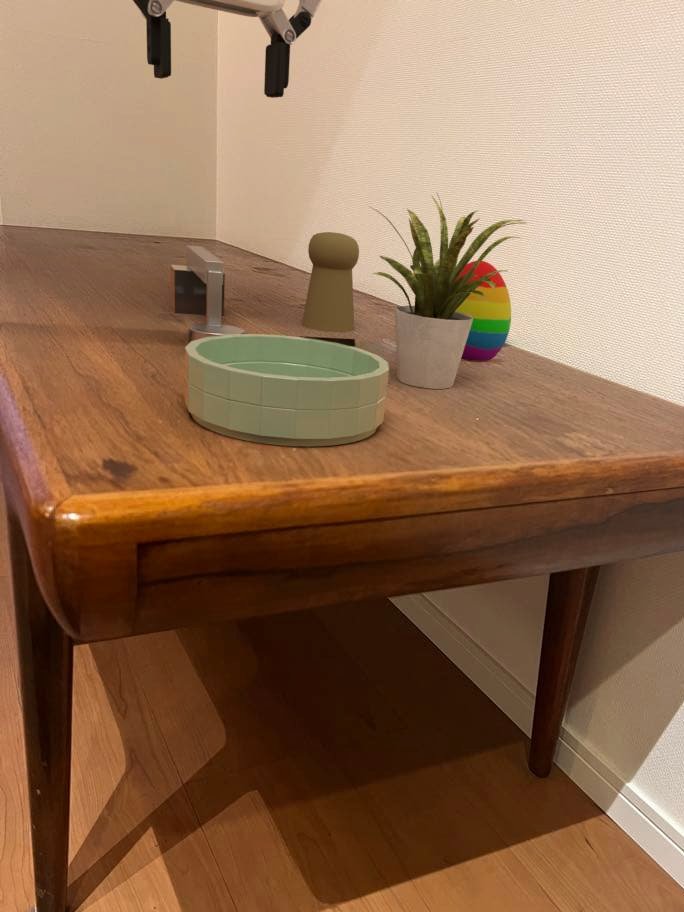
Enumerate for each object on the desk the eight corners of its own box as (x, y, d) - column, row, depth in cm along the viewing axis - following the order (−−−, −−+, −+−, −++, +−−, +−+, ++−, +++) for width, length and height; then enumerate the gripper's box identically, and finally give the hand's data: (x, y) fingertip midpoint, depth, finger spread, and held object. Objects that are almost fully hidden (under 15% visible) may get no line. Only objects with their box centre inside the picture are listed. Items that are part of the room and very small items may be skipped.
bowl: (200, 448, 48) (201, 376, 46) (175, 389, 60) (175, 329, 58) (410, 447, 53) (418, 382, 51) (349, 393, 65) (354, 338, 63)
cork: (317, 348, 80) (324, 234, 75) (288, 336, 84) (294, 227, 80) (365, 347, 84) (376, 238, 79) (336, 335, 88) (344, 231, 83)
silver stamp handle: (170, 321, 84) (169, 243, 81) (217, 324, 86) (218, 248, 83) (192, 360, 69) (192, 265, 66) (248, 362, 71) (251, 269, 68)
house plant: (540, 391, 74) (575, 205, 67) (471, 414, 63) (505, 195, 57) (415, 360, 81) (436, 188, 74) (332, 376, 70) (348, 176, 63)
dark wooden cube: (174, 329, 81) (174, 269, 78) (170, 321, 84) (170, 264, 82) (223, 331, 82) (224, 273, 80) (217, 324, 86) (218, 268, 83)
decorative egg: (518, 361, 87) (535, 267, 82) (473, 367, 81) (488, 266, 77) (462, 345, 91) (475, 256, 87) (415, 349, 86) (427, 254, 82)
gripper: (310, -123, 67) (298, 104, 74) (95, -192, 58) (105, 71, 65) (346, -147, 61) (330, 102, 68) (113, -227, 52) (122, 66, 60)
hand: (219, 87), depth 67 cm, fingers open, 9 cm apart
